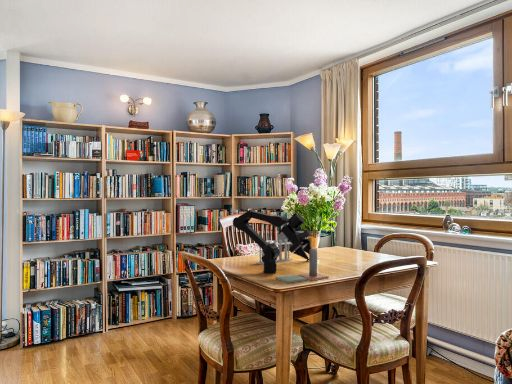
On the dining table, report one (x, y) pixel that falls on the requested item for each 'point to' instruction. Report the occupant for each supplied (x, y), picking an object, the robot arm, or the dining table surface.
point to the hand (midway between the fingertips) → (311, 257)
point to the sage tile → (291, 278)
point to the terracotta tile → (312, 278)
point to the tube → (313, 262)
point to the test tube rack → (280, 252)
